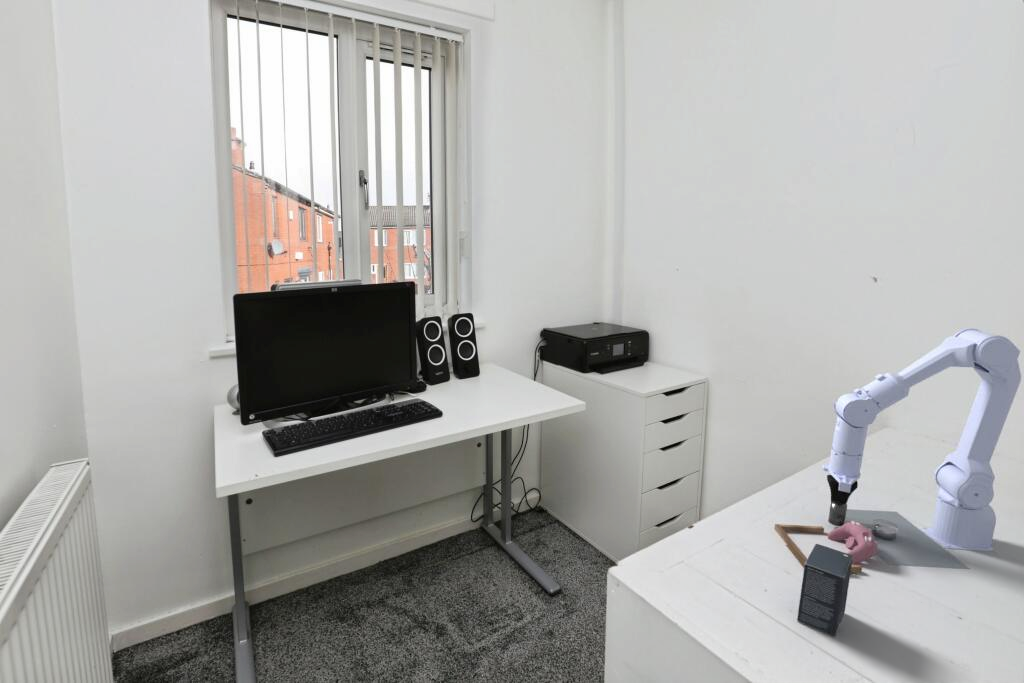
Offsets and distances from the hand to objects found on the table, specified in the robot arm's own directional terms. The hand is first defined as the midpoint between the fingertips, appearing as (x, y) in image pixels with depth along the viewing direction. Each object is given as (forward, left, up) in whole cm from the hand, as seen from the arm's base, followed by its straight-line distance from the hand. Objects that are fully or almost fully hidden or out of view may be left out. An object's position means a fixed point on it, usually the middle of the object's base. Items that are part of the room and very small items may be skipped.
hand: (837, 509), depth 119 cm
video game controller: (+2, +11, -4) cm, 12 cm away
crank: (-4, +3, -3) cm, 6 cm away
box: (+18, +31, -4) cm, 36 cm away
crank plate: (-10, +4, -4) cm, 11 cm away
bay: (+9, +11, -4) cm, 15 cm away
